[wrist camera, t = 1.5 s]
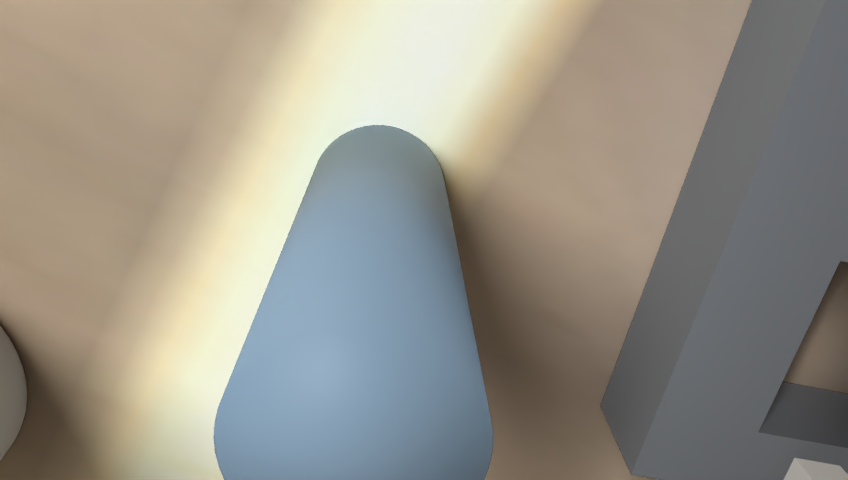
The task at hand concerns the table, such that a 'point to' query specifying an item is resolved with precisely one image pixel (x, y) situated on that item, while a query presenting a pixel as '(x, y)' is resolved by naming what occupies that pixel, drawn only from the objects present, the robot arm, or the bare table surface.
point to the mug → (10, 393)
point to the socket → (746, 267)
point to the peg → (362, 333)
